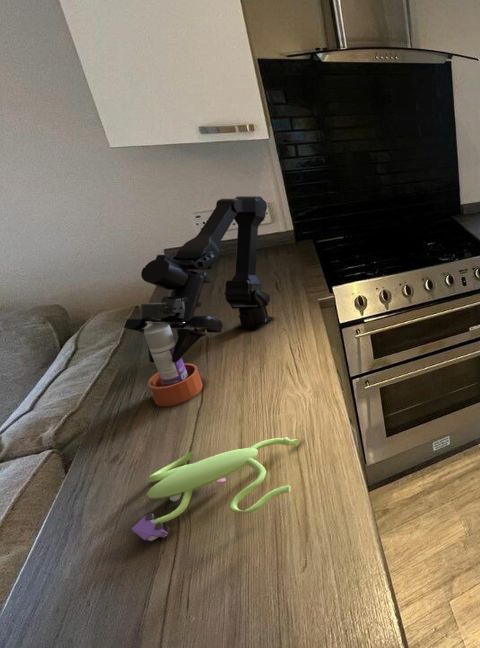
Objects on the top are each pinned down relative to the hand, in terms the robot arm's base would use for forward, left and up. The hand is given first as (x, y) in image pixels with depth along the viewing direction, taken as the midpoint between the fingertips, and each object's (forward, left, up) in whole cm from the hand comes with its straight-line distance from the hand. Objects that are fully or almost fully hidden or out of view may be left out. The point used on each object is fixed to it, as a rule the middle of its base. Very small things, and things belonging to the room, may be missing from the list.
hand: (163, 362), depth 99 cm
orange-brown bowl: (-1, 0, -10) cm, 10 cm away
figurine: (+17, +34, -10) cm, 39 cm away
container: (-1, 0, -7) cm, 7 cm away
